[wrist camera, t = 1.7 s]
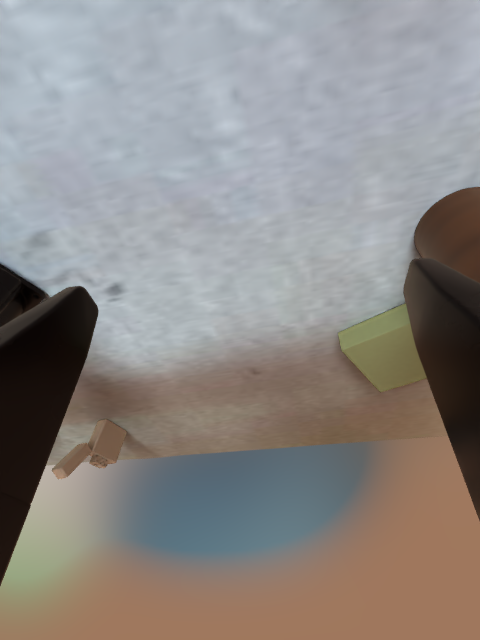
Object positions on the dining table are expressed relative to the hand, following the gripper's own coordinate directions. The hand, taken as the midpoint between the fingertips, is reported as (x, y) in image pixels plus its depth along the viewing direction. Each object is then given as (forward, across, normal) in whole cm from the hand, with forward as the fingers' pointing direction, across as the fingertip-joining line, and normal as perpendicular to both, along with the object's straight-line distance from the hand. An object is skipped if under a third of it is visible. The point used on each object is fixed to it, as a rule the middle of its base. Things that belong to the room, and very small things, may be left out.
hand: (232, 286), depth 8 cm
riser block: (+12, -10, +16) cm, 22 cm away
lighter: (+11, +25, +30) cm, 41 cm away
